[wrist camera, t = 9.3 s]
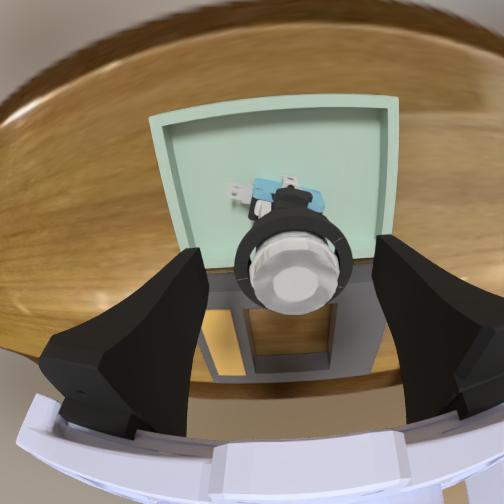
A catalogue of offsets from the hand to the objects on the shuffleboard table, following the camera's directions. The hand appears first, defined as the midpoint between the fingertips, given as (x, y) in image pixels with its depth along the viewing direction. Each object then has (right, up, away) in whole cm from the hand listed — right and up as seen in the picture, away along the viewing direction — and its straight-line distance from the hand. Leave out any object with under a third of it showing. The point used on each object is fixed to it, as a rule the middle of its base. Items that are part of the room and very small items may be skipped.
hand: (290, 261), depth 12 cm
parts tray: (+1, +6, +9) cm, 10 cm away
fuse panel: (+2, -7, +17) cm, 18 cm away
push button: (0, +5, +9) cm, 10 cm away
